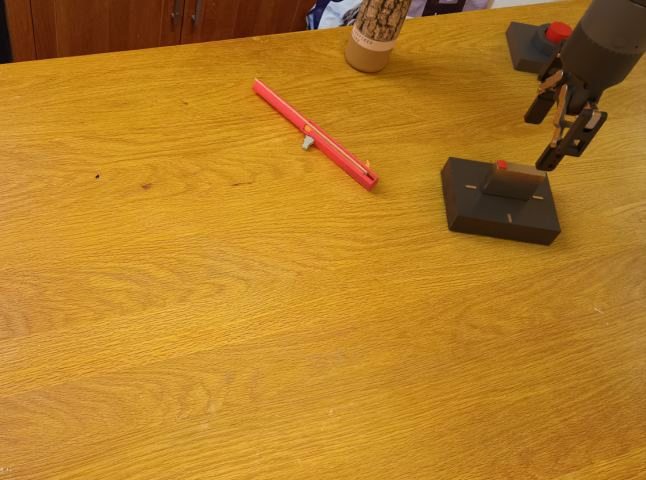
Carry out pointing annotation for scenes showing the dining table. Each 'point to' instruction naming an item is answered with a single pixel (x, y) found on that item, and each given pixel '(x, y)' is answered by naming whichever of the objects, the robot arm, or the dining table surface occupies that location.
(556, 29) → the button
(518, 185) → the dial knob
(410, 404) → the dining table surface
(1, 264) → the dining table surface
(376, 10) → the paper tube
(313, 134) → the red grooved bar
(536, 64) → the button box
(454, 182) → the panel
